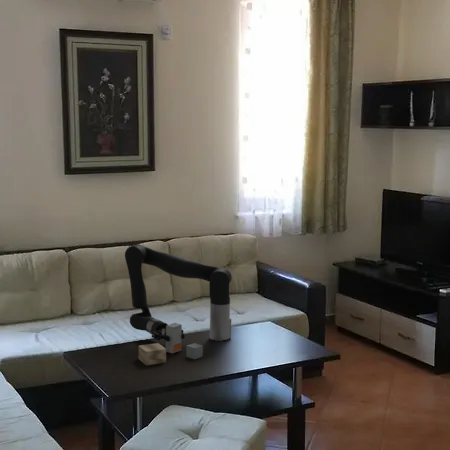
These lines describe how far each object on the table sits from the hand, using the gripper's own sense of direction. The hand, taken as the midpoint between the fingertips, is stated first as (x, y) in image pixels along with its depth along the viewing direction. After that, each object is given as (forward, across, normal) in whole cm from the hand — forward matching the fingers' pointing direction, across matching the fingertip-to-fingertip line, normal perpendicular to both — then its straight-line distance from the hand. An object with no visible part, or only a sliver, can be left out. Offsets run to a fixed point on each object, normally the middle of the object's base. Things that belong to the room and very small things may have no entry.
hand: (176, 337), depth 302 cm
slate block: (+9, +4, +7) cm, 12 cm away
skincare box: (-2, 0, +7) cm, 7 cm away
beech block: (+4, -14, +7) cm, 16 cm away
